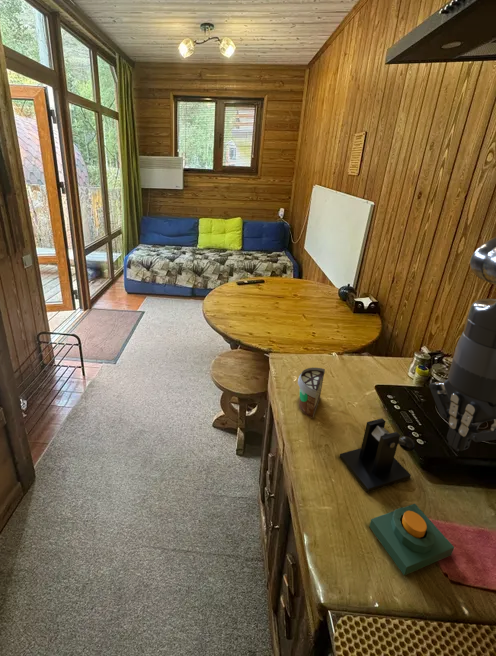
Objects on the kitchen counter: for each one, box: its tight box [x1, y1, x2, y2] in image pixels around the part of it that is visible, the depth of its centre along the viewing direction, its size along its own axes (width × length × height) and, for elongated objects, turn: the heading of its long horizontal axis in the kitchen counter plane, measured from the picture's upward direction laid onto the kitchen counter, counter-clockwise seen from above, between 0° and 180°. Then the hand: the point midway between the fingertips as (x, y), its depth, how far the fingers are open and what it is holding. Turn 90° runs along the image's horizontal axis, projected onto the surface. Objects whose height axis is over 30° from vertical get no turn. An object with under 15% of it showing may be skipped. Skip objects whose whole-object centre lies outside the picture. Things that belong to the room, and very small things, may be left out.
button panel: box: [368, 503, 455, 576], centre depth 57 cm, size 11×8×4 cm
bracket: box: [338, 417, 412, 494], centre depth 70 cm, size 12×9×12 cm
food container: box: [297, 367, 326, 419], centre depth 90 cm, size 12×6×10 cm, turn 149°
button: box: [402, 511, 427, 538], centre depth 57 cm, size 4×4×2 cm
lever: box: [371, 426, 416, 452], centre depth 71 cm, size 13×3×3 cm, turn 105°
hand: (455, 446), depth 55 cm, fingers closed
